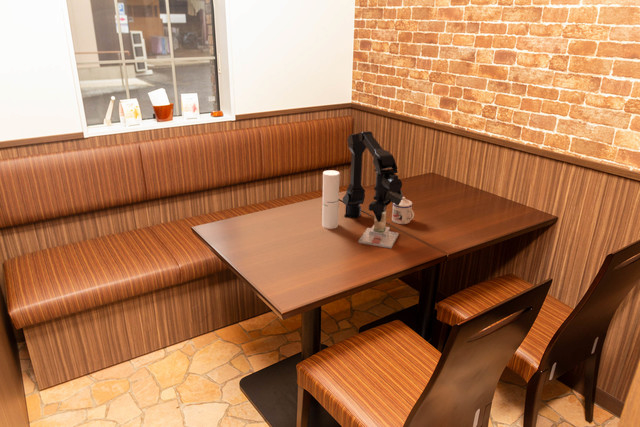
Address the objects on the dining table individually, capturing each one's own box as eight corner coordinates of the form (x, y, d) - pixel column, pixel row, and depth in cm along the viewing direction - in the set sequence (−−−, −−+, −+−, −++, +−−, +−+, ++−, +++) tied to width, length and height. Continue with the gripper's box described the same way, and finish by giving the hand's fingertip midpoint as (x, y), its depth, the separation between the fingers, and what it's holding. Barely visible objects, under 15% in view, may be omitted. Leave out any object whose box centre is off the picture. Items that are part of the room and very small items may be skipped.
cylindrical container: (336, 229, 206) (338, 175, 196) (320, 227, 207) (321, 174, 198) (339, 223, 213) (340, 170, 203) (323, 221, 214) (324, 169, 204)
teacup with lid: (387, 219, 217) (388, 196, 213) (401, 215, 222) (403, 192, 217) (405, 228, 208) (407, 204, 204) (419, 223, 213) (422, 200, 208)
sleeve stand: (358, 242, 194) (359, 233, 192) (367, 229, 206) (368, 220, 205) (391, 248, 190) (392, 238, 188) (398, 234, 202) (399, 225, 200)
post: (373, 230, 195) (374, 212, 192) (376, 226, 199) (377, 209, 196) (383, 231, 194) (384, 214, 191) (385, 228, 197) (386, 210, 194)
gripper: (397, 194, 178) (394, 231, 184) (406, 180, 194) (403, 214, 200) (369, 190, 181) (367, 227, 187) (380, 176, 197) (378, 210, 204)
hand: (380, 219), depth 194 cm, fingers closed on post, 4 cm apart
